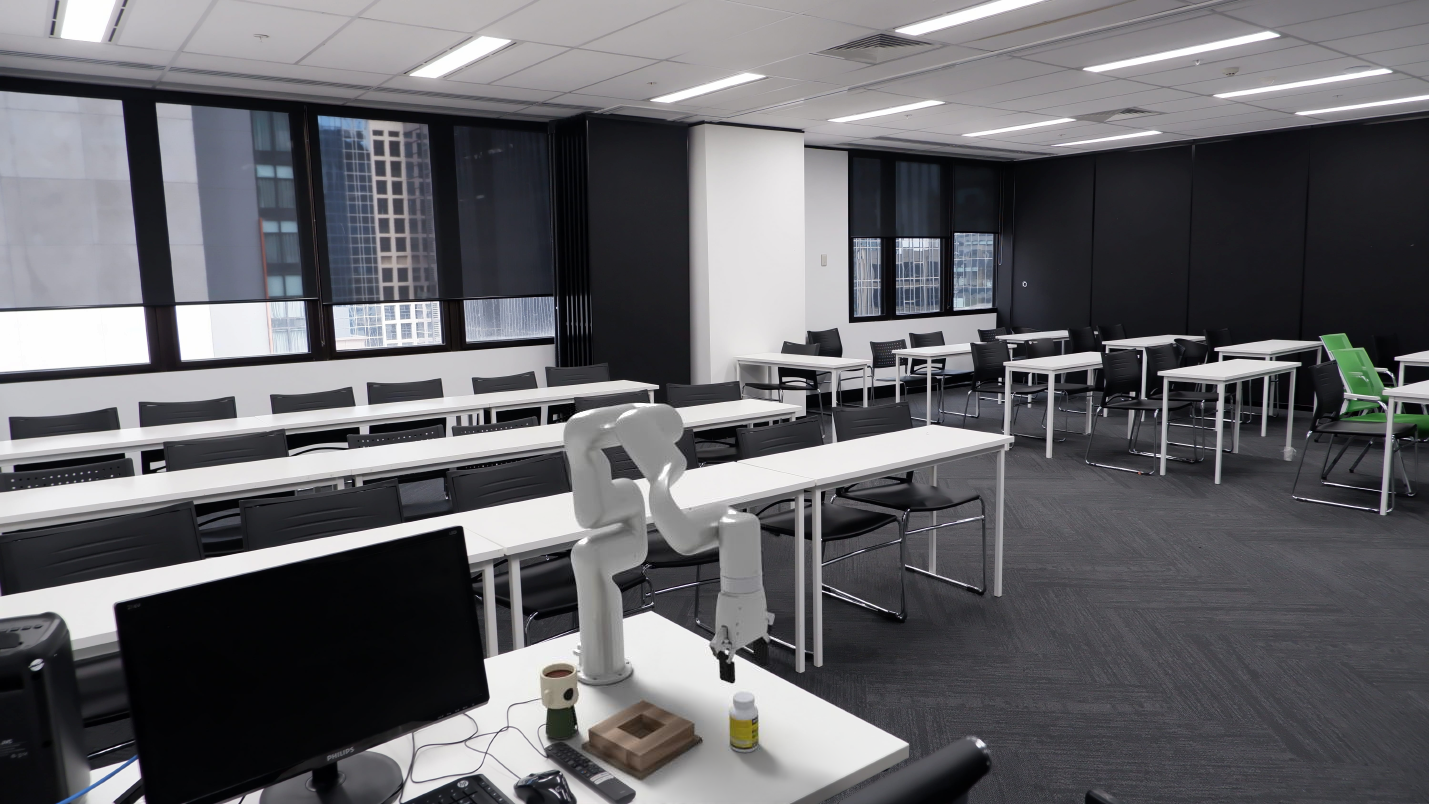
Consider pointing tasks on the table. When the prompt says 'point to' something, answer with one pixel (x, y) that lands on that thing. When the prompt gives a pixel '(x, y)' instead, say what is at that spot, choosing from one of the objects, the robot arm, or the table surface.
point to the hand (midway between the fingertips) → (744, 671)
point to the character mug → (560, 699)
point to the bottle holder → (641, 739)
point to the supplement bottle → (744, 723)
